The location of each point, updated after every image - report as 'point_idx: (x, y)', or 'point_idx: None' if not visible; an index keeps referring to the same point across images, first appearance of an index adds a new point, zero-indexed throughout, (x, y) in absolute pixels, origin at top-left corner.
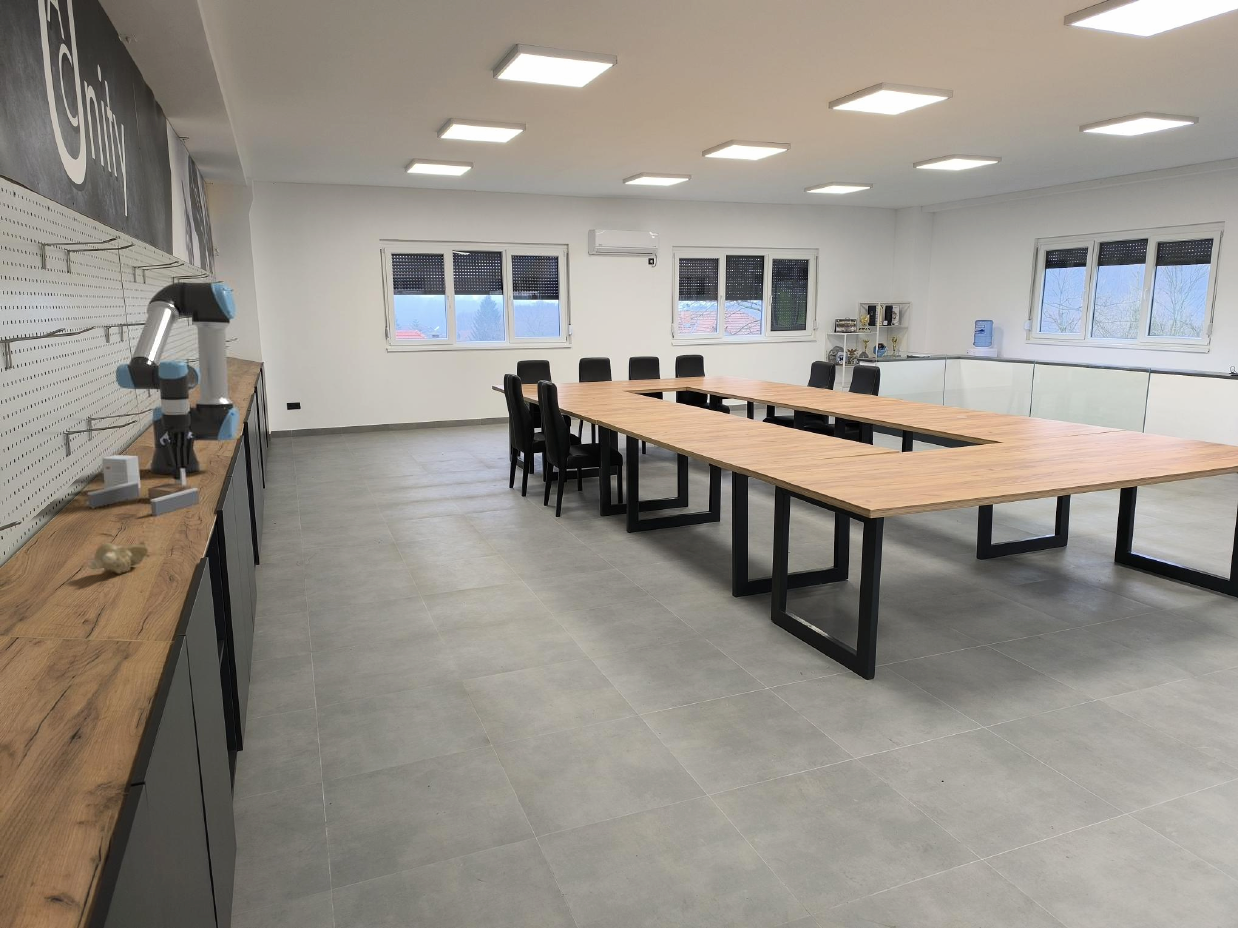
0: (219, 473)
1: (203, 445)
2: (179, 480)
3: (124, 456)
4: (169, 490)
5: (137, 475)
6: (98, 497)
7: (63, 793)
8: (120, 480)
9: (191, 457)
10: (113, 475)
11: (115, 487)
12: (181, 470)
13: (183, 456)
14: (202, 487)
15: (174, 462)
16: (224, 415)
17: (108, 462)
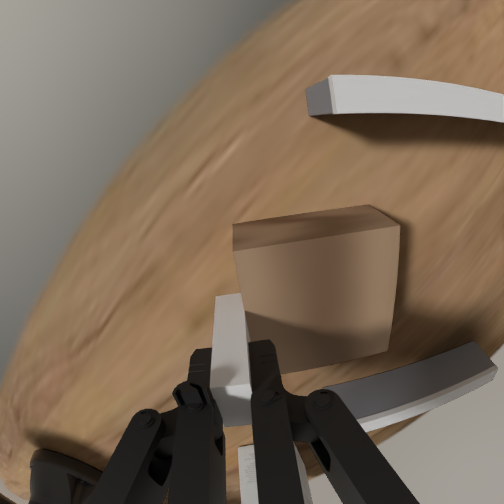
0: (4, 405)
1: (11, 486)
2: (248, 341)
3: None
4: (395, 238)
5: (250, 481)
6: (474, 364)
7: None
8: (301, 473)
9: (119, 453)
10: (307, 492)
11: (432, 399)
12: (248, 376)
13: (209, 478)
14: (87, 340)
15: (330, 428)
16: None
17: None
